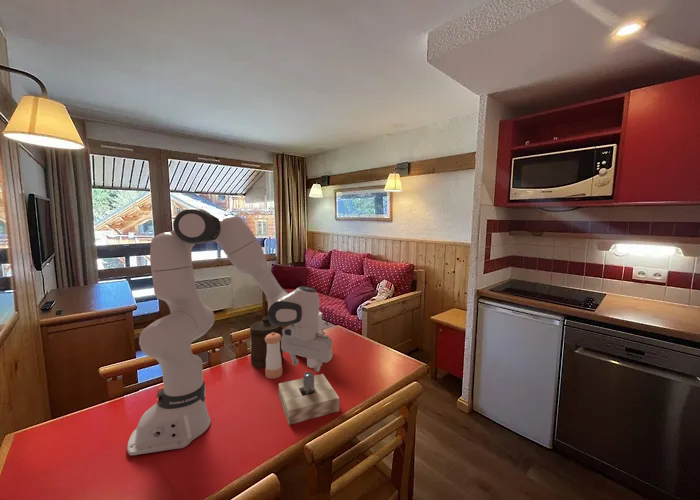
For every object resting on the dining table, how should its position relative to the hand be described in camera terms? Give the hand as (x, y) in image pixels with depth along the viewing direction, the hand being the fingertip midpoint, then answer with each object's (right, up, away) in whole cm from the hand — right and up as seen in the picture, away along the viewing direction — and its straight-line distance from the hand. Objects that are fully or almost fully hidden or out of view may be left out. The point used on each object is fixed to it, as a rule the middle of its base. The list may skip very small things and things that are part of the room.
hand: (306, 367), depth 109 cm
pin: (+1, -13, +1) cm, 13 cm away
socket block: (0, -14, +2) cm, 14 cm away
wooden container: (-24, -11, +34) cm, 43 cm away
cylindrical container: (0, -11, +31) cm, 32 cm away
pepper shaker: (-17, -12, +22) cm, 30 cm away
